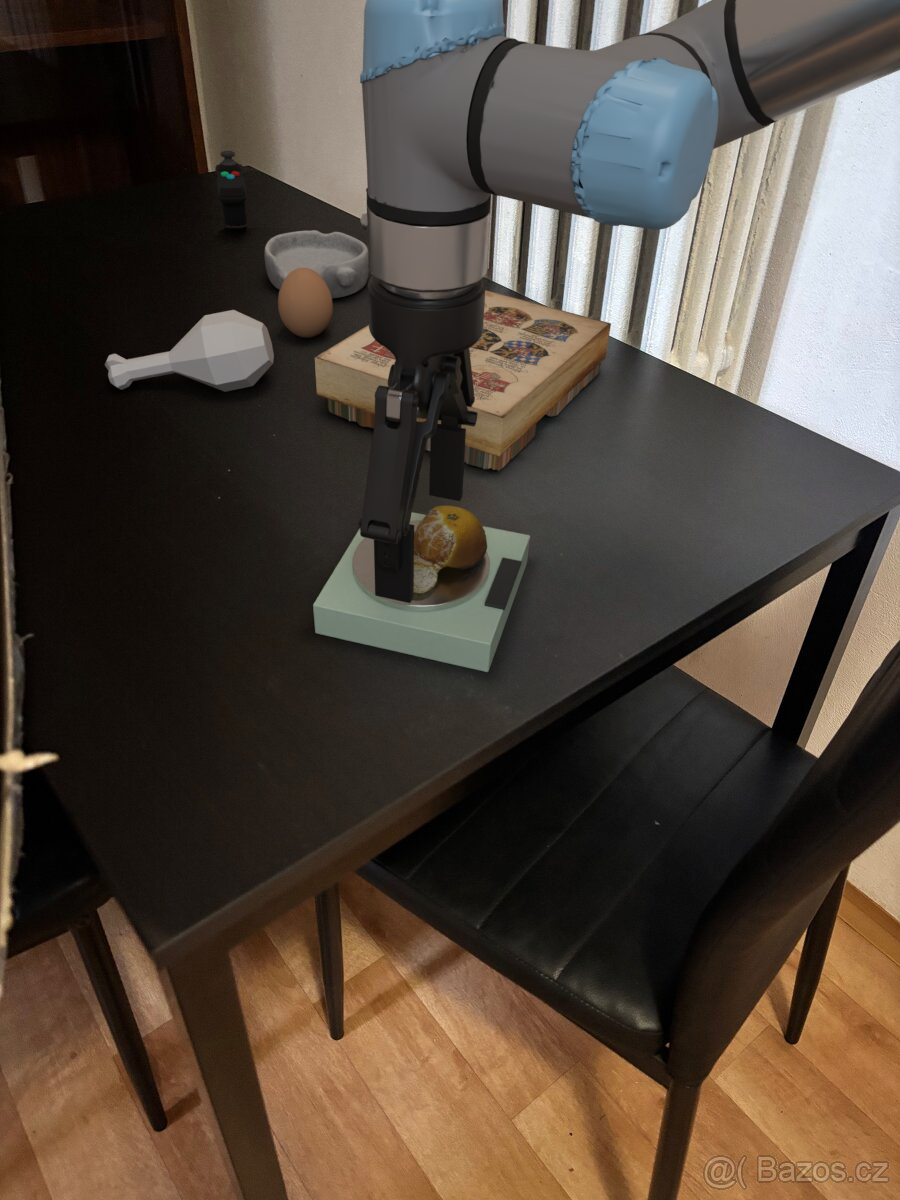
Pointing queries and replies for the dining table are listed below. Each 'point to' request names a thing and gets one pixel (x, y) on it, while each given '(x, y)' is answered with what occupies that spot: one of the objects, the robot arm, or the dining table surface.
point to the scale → (428, 634)
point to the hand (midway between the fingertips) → (421, 543)
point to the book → (484, 374)
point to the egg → (305, 303)
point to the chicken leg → (206, 355)
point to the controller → (231, 190)
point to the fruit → (446, 544)
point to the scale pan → (445, 594)
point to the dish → (319, 259)
